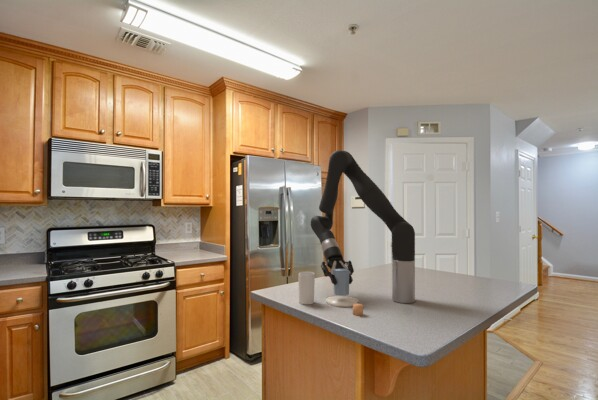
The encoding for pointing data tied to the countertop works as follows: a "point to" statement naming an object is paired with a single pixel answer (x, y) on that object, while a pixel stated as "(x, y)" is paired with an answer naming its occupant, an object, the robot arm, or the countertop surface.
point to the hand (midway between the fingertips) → (343, 283)
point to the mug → (306, 287)
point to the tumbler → (341, 281)
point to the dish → (341, 301)
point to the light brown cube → (357, 309)
